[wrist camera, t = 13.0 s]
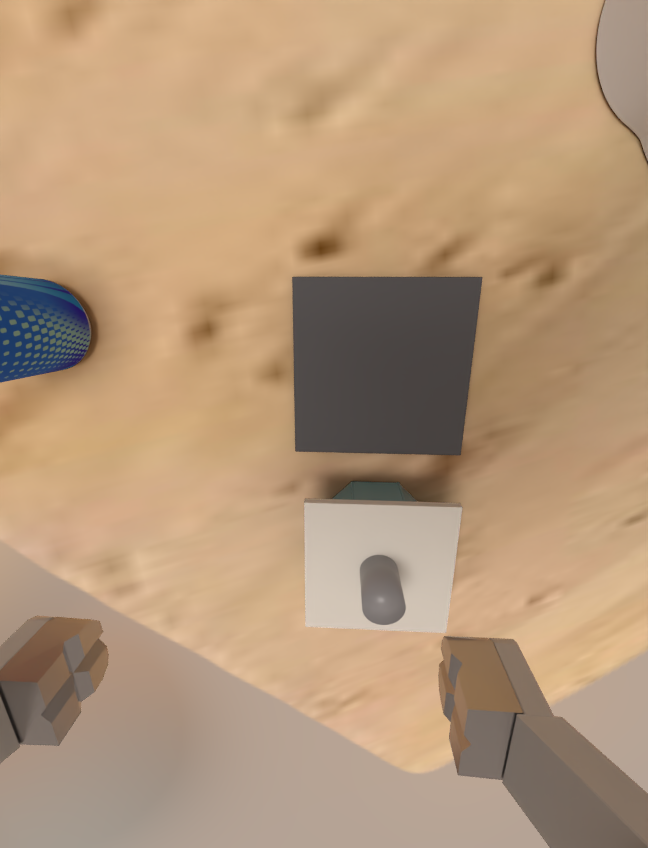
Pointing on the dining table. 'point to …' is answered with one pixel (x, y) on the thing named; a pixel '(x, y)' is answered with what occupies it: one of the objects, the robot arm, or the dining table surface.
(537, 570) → the dining table surface
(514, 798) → the robot arm
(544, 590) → the dining table surface
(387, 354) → the mat
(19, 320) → the beer can
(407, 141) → the dining table surface
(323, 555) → the cover board
